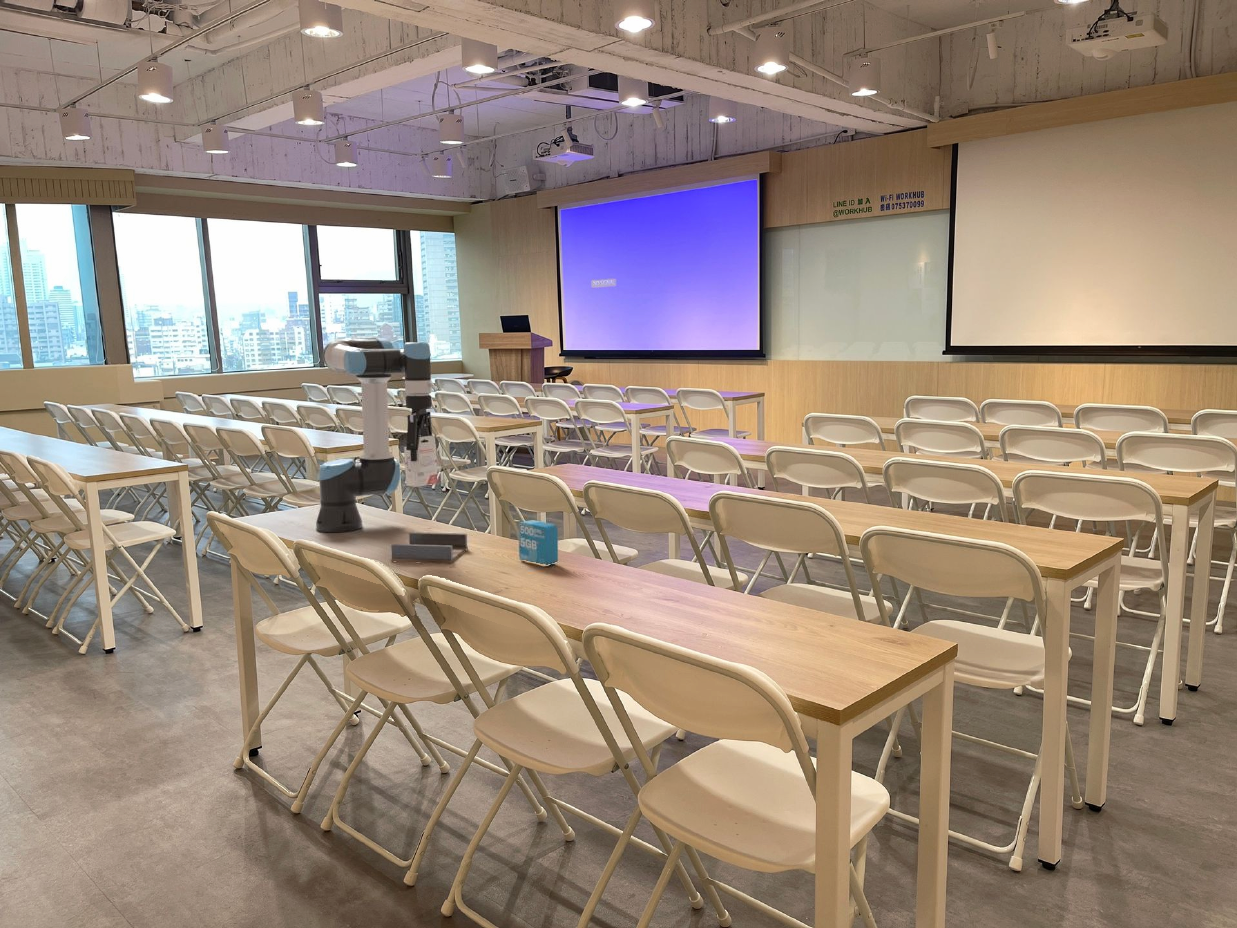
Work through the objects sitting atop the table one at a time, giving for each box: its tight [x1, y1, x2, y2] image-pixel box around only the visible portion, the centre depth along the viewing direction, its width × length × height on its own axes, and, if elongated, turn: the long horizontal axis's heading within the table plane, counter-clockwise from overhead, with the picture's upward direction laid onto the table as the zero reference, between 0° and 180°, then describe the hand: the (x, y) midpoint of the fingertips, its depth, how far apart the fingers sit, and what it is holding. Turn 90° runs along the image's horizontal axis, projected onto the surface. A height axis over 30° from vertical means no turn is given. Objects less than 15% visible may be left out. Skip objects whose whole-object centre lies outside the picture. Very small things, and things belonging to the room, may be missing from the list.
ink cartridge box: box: [403, 434, 438, 488], centre depth 267 cm, size 9×5×15 cm, turn 142°
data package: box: [518, 519, 559, 565], centre depth 261 cm, size 12×4×12 cm, turn 49°
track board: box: [390, 531, 469, 565], centre depth 270 cm, size 18×18×5 cm
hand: (421, 469), depth 268 cm, fingers closed on ink cartridge box, 9 cm apart
